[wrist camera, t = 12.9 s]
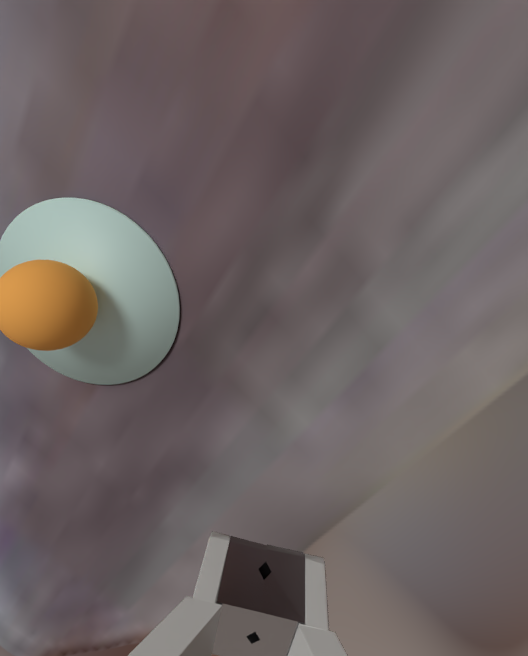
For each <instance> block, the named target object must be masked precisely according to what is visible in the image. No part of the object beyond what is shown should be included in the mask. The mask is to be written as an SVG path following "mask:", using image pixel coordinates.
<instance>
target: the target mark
mask: <svg viewBox="0 0 528 656" xmlns="http://www.w3.org/2000/svg"><path fill="white" fill-rule="evenodd" d="M32 260H53V261H58V262H62V263H65V264H67V265H69V266H71V267H73V268H75V269H76V270H78V271H79V272H80V273H82V274H83V275H84V276H85V277H86V278H87V279H88V281H89V282H90V283H91V285H92V286H93V288H94V290H95V293H96V296H97V301H98V313H97V317H96V320H95V323H94V325H93V327H92V328H91V330H90V331H89V332H88V333H87V335H86V336H84V337H83V338H82V339H81V340H80V341H78V342H76V343H75V344H73V345H71V346H68V347H66V348H63V349H58V350H51V351H42V350H34V349H30V348H27V349H28V350H29V351H30V352H31V353H32V354H33V355H34V356H36V357H37V358H38V359H39V360H41V361H42V362H43V363H44V364H46V365H47V366H49V367H50V368H52V369H53V370H55V371H57V372H59V373H61V374H63V375H65V376H67V377H70V378H72V379H75V380H78V381H82V382H86V383H92V384H100V385H112V384H120V383H125V382H129V381H132V380H135V379H137V378H139V377H141V376H143V375H145V374H147V373H148V372H150V371H151V370H152V369H153V368H155V367H156V366H157V365H158V364H159V363H160V362H161V361H162V360H163V359H164V357H165V356H166V354H167V353H168V351H169V350H170V348H171V346H172V344H173V342H174V340H175V337H176V334H177V331H178V325H179V319H180V302H179V293H178V289H177V285H176V281H175V278H174V275H173V273H172V270H171V268H170V266H169V264H168V262H167V260H166V258H165V256H164V255H163V253H162V252H161V250H160V248H159V247H158V245H157V244H156V243H155V242H154V241H153V239H152V238H151V237H150V236H149V235H148V234H147V233H146V232H145V231H144V230H143V229H142V228H141V227H140V226H139V225H138V224H137V223H135V222H134V221H133V220H131V219H130V218H129V217H127V216H126V215H124V214H122V213H121V212H119V211H117V210H115V209H114V208H111V207H109V206H107V205H104V204H102V203H99V202H95V201H91V200H88V199H80V198H56V199H50V200H46V201H43V202H40V203H37V204H35V205H33V206H31V207H29V208H28V209H26V210H24V211H23V212H22V213H21V214H19V215H18V216H17V217H16V218H15V219H14V220H13V221H12V222H11V224H10V225H9V226H8V228H7V229H6V231H5V232H4V234H3V236H2V238H1V241H0V278H1V277H2V275H3V274H5V273H6V272H7V271H8V270H9V269H11V268H13V267H14V266H16V265H18V264H21V263H24V262H27V261H32Z"/></svg>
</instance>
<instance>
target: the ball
mask: <svg viewBox="0 0 528 656" xmlns="http://www.w3.org/2000/svg"><path fill="white" fill-rule="evenodd" d="M97 313H98V301H97V296H96V293H95V290H94V288H93V286H92V285H91V283H90V282H89V281H88V279H87V278H86V277H85V276H84V275H83V274H82V273H80V272H79V271H78V270H76V269H75V268H73V267H71V266H69V265H67V264H65V263H62V262H58V261H53V260H32V261H27V262H24V263H21V264H18V265H16V266H14V267H13V268H11V269H9V270H8V271H7V272H6V273H5V274H3V275H2V277H1V278H0V330H1V331H2V332H3V333H4V334H5V335H6V336H7V337H8V338H9V339H10V340H12V341H13V342H15V343H17V344H19V345H21V346H24V347H26V348H30V349H34V350H42V351H51V350H58V349H63V348H66V347H68V346H71V345H73V344H75V343H76V342H78V341H80V340H81V339H82V338H83V337H84V336H86V335H87V333H88V332H89V331H90V330H91V328H92V327H93V325H94V323H95V320H96V317H97Z"/></svg>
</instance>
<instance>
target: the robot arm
mask: <svg viewBox="0 0 528 656" xmlns="http://www.w3.org/2000/svg"><path fill="white" fill-rule="evenodd" d="M229 541H230V542H229ZM326 589H327V588H326V573H325V561H324V559H323V558H322V557H318V556H314V555H309V554H303V552H299V551H294V550H290V549H285V548H280V547H276V546H271V545H263V544H259V543H256V542H252V541H248V540H244V539H240V538H237V537H233V536H231V538H230V536H229V535H225V534H221V533H217V532H213V531H212V533H211V535H210V537H209V541H208V544H207V548H206V551H205V555H204V559H203V562H202V566H201V569H200V573H199V576H198V580H197V583H196V587H195V591H194V594H193V597H188V596H186V597H185V598H184V599H183V600H182V601H181V602H180V603H179V604H178V605H177V606H176V607H175V608H174V609H173V611H172V612H171V613H170V614H169V615H168V616H167V617H166V618H165V619H164V620H163V621H162V622H161V623H160V624H159V625H158V626H157V627H156V628H155V629H154V630H153V631H152V632H151V633H150V634H149V635H148V636H147V637H146V638H145V639H144V640H143V641H142V642H141V643H140V644H139V645H138V646H137V647H136V648H135V649H134V650H133V651H132V652H131V653H130V654H129V655H128V656H211V655H212V654H215V655H220V656H348V655H347V653H346V651H345V649H344V647H343V646H342V644H341V642H340V640H339V638H338V636H337V635H336V633H335V632H333V631H329V620H328V605H327V590H326Z"/></svg>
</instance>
